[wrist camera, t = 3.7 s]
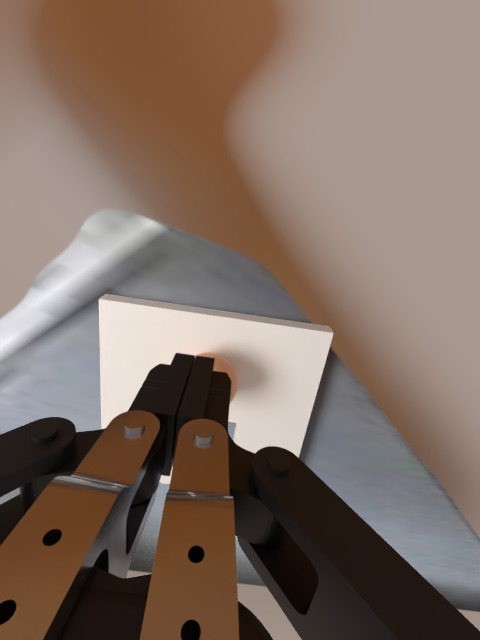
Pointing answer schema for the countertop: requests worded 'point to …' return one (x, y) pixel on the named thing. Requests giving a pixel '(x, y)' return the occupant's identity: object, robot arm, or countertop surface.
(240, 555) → the countertop surface
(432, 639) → the robot arm
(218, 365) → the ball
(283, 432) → the white square board
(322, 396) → the countertop surface
